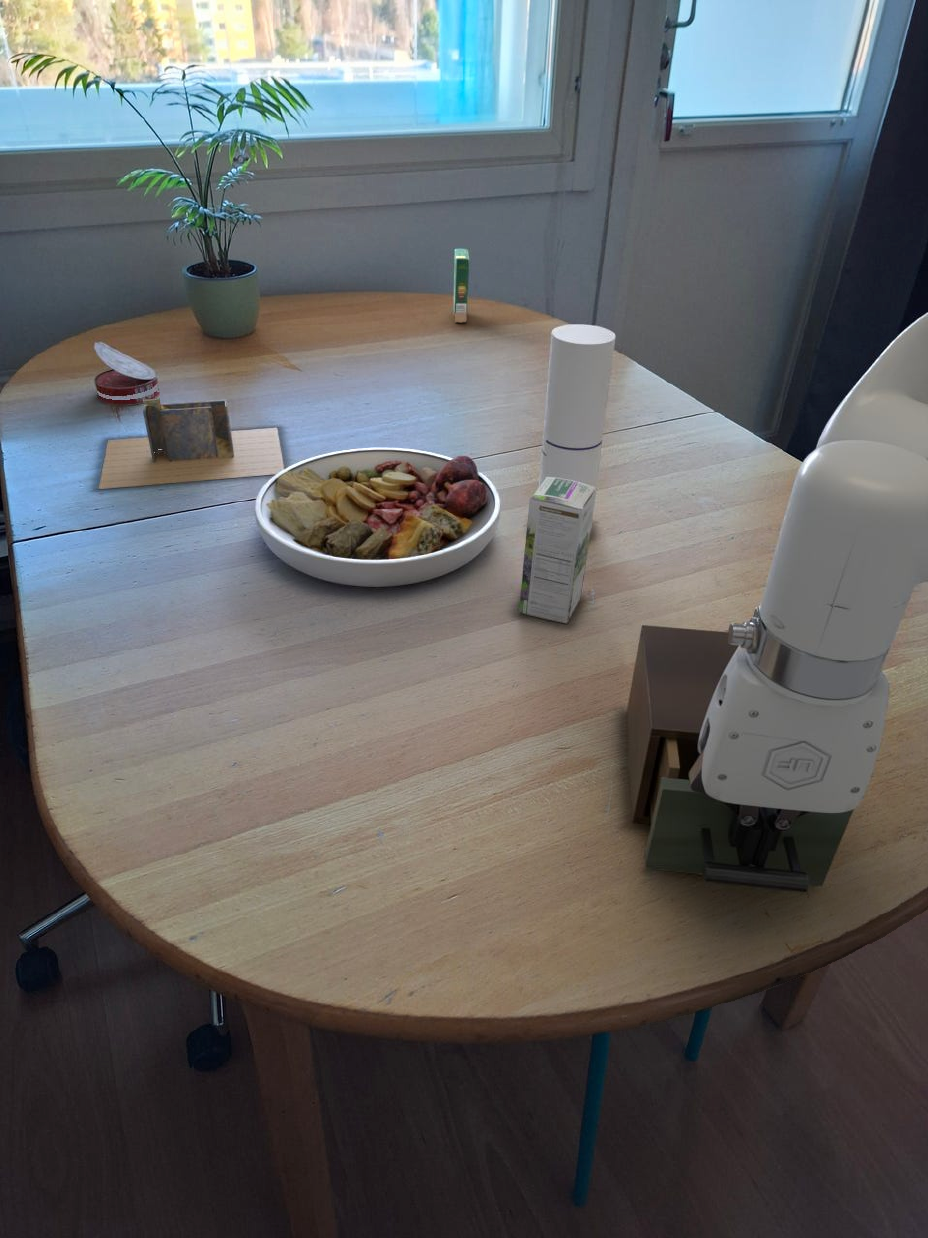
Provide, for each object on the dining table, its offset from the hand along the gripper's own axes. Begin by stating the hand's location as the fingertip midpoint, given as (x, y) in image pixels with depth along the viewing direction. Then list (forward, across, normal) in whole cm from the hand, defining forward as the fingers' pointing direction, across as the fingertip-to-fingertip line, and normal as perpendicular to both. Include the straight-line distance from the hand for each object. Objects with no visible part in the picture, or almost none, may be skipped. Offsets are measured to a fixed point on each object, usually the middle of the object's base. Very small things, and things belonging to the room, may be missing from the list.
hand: (747, 851), depth 63 cm
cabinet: (+6, 0, +14) cm, 15 cm away
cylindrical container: (+6, -13, +56) cm, 58 cm away
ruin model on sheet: (+6, -67, +70) cm, 97 cm away
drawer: (+5, 0, +6) cm, 8 cm away
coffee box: (+6, -36, +144) cm, 148 cm away
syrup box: (+6, -14, +38) cm, 41 cm away
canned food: (+6, -86, +91) cm, 125 cm away
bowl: (+6, -36, +51) cm, 63 cm away
